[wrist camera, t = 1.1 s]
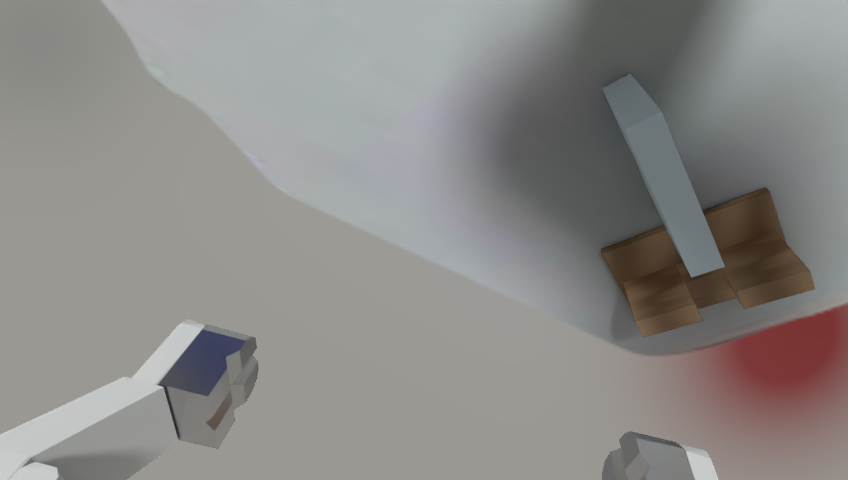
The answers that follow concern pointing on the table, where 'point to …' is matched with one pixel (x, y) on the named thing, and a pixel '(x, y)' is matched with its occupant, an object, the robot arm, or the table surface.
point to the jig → (740, 278)
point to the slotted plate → (663, 174)
